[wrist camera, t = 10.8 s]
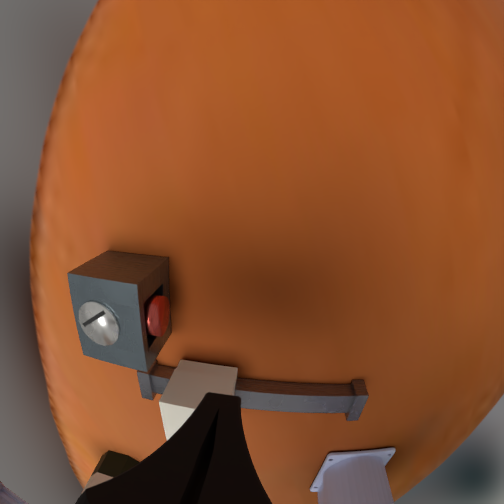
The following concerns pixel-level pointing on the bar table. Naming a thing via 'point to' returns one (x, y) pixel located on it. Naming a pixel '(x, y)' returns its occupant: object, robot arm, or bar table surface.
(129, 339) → the gauge cabinet
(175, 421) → the carriage
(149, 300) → the plunger
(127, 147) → the bar table surface
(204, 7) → the bar table surface
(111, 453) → the wine bottle
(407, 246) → the bar table surface
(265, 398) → the rail
